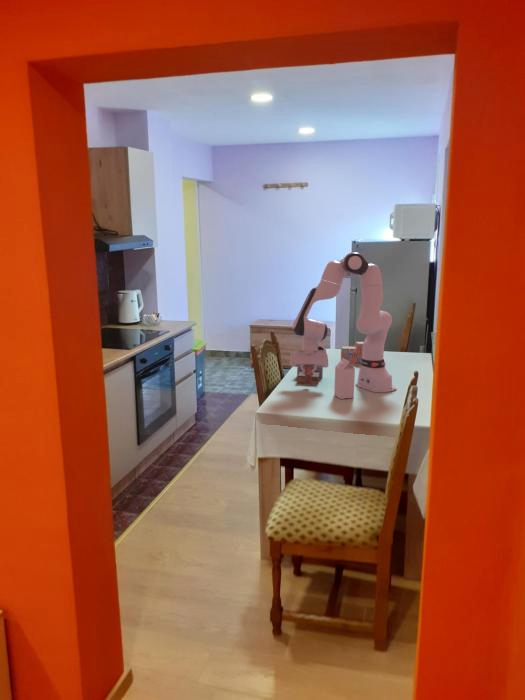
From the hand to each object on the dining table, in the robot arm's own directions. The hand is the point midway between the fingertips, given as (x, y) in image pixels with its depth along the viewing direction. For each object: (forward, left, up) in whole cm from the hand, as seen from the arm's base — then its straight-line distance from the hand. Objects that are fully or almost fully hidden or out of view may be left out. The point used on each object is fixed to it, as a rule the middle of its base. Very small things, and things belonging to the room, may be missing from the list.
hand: (308, 373), depth 297 cm
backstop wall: (+18, -10, -8) cm, 22 cm away
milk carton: (-20, -10, -8) cm, 24 cm away
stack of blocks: (+41, -54, -8) cm, 68 cm away
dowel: (0, 0, -4) cm, 4 cm away
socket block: (+12, -6, -8) cm, 15 cm away
